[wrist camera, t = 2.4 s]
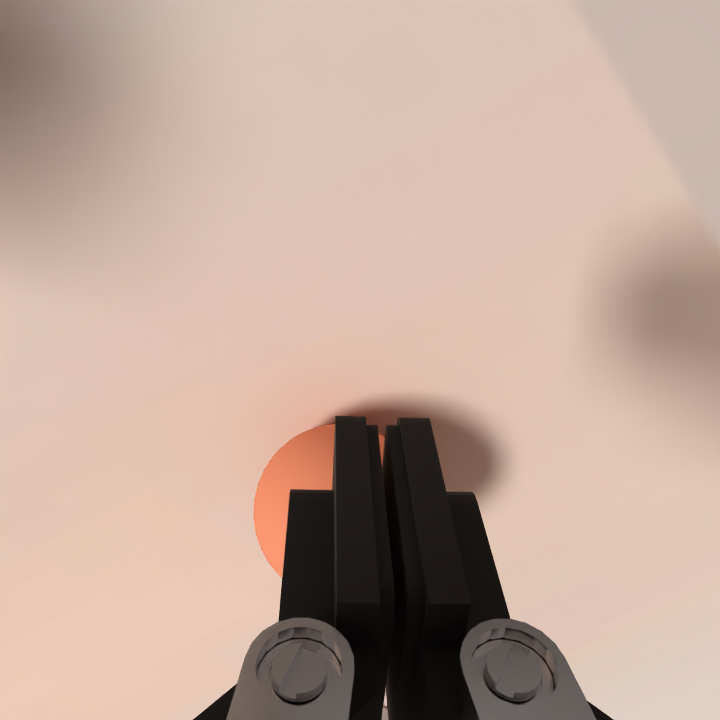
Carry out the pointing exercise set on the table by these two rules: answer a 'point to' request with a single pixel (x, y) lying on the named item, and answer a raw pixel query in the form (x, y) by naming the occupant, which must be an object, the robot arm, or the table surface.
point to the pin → (385, 714)
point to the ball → (292, 485)
